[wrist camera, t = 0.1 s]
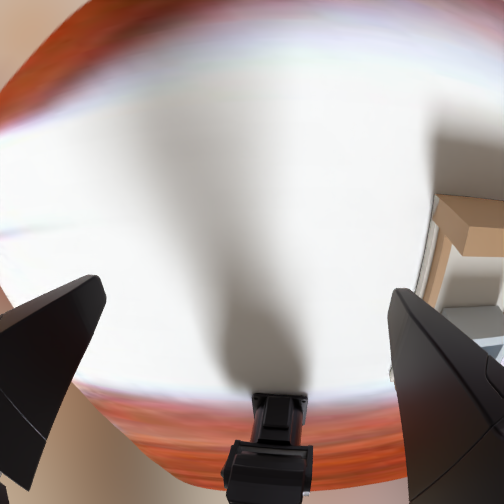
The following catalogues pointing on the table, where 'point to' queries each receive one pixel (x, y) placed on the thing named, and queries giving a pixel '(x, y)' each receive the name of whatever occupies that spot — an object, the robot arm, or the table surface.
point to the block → (481, 326)
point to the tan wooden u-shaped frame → (463, 255)
